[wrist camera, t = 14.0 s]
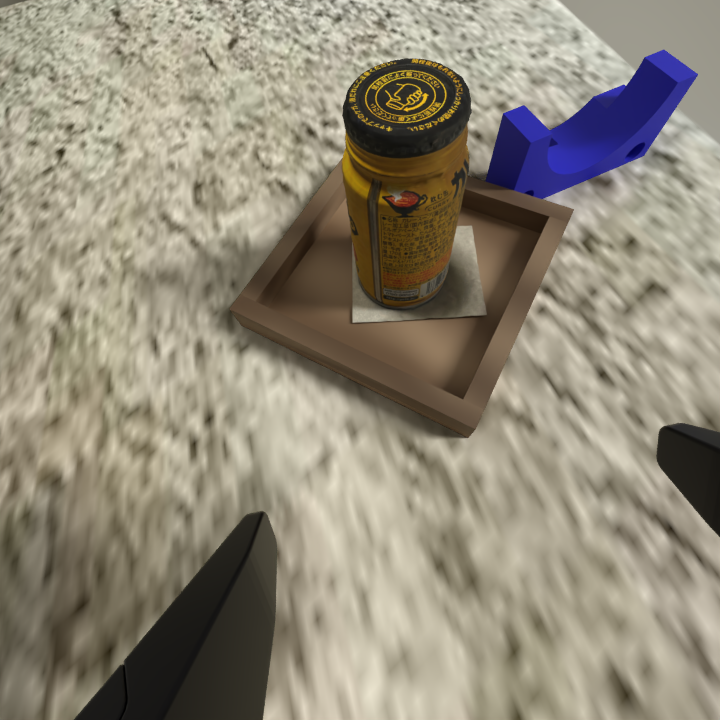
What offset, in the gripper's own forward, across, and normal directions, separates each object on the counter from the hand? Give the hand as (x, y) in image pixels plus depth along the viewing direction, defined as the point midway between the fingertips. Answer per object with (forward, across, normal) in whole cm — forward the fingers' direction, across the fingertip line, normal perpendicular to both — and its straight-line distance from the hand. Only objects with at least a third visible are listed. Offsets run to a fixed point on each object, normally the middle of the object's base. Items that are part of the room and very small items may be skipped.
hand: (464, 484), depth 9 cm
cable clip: (+25, -16, -6) cm, 31 cm away
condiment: (+20, -3, -1) cm, 20 cm away
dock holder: (+20, -2, -1) cm, 20 cm away
